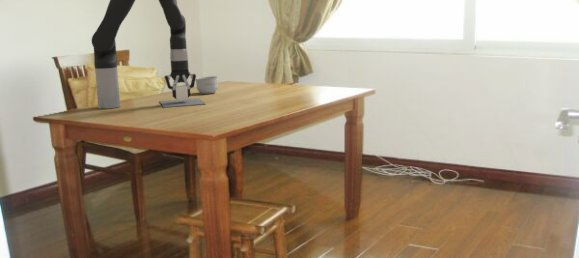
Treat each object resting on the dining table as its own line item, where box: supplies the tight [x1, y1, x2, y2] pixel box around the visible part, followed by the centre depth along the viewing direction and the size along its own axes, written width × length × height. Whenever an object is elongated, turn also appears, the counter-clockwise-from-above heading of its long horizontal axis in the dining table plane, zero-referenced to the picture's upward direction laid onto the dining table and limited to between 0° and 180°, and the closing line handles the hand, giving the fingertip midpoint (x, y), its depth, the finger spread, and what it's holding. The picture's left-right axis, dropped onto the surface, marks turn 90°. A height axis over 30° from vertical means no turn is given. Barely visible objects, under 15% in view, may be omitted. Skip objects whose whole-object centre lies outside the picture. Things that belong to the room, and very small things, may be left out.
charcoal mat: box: [159, 97, 206, 108], centre depth 267 cm, size 18×18×1 cm
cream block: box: [175, 84, 189, 100], centre depth 266 cm, size 5×5×6 cm
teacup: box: [195, 75, 219, 95], centre depth 297 cm, size 14×11×8 cm
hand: (181, 97), depth 267 cm, fingers closed on cream block, 5 cm apart
